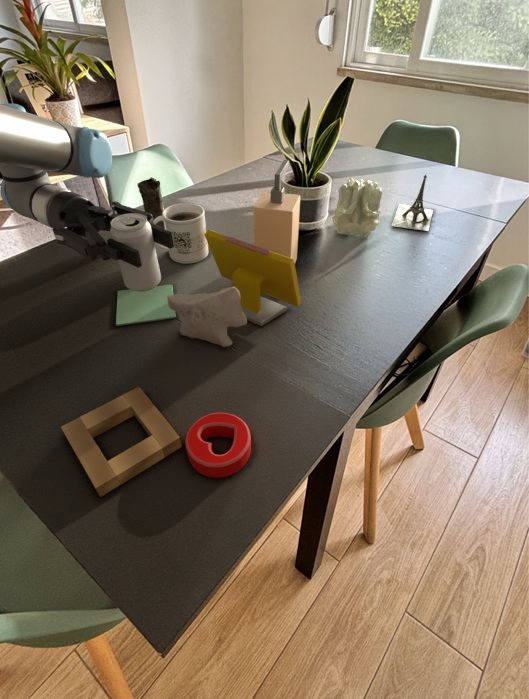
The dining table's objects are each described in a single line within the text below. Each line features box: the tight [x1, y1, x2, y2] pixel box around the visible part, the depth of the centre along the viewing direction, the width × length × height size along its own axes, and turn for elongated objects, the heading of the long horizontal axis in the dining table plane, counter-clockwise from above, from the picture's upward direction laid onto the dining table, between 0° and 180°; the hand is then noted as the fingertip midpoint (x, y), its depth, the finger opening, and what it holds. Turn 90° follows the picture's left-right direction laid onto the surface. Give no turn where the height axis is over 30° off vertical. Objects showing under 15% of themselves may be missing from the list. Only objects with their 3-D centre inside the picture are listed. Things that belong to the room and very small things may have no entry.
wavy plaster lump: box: [331, 177, 383, 238], centre depth 114 cm, size 18×13×16 cm
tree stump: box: [137, 177, 166, 229], centre depth 112 cm, size 10×10×13 cm
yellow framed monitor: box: [204, 229, 302, 327], centre depth 86 cm, size 20×8×16 cm, turn 56°
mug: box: [154, 202, 209, 264], centre depth 104 cm, size 10×12×11 cm
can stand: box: [60, 386, 183, 498], centre depth 65 cm, size 13×13×2 cm
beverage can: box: [109, 213, 162, 292], centre depth 72 cm, size 6×6×12 cm
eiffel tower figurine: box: [391, 174, 434, 232], centre depth 117 cm, size 15×10×13 cm
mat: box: [115, 284, 177, 327], centre depth 92 cm, size 12×12×1 cm
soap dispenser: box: [252, 159, 301, 264], centre depth 97 cm, size 13×9×22 cm
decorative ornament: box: [185, 412, 252, 478], centre depth 64 cm, size 10×10×3 cm
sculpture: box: [167, 286, 248, 348], centre depth 78 cm, size 17×5×15 cm, turn 69°
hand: (155, 249), depth 68 cm, fingers closed on beverage can, 6 cm apart
